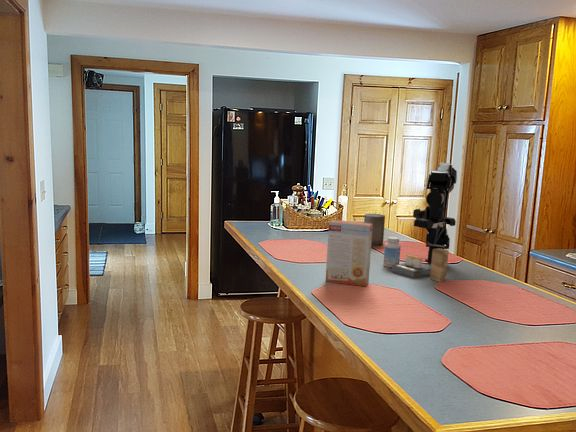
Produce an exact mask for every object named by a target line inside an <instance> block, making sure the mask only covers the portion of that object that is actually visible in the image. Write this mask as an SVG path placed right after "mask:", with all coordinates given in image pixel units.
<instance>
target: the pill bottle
mask: <svg viewBox="0 0 576 432" xmlns="http://www.w3.org/2000/svg"><path fill="white" fill-rule="evenodd" d="M386 241H387V242H386V243H385V244H384V251H383V252H384V253H383V262H382V263H383V265H384V266H385V267H386V268H392V265H397V264H400V259H401V258H400V257H401V244H400V243H399V242H400V238H399V237H396V236H387V240H386Z"/></svg>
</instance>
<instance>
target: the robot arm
mask: <svg viewBox="0 0 576 432" xmlns="http://www.w3.org/2000/svg"><path fill="white" fill-rule="evenodd" d="M457 180H458V172H457V170H456V169H455V168H454V167H453V164H452V163H448V162H446V163H445V162H439V164H438V168H436V169H435V170H431V173H429V174H428V178H427V184H426V190H429V191H430V192H429V193H428V194H427V195H426V197H425V200H426V204H427V205H426V207H425V210H421V209H420V208H416V209H414V210H413V213H412V216H413V218H415V219H414V221H413V227H416V228H417V227H418V228H420V229H421V228H422V229H425V230H426V231H427V232H426V240H425V247H426V248H428V254H427V258H425V259H424V261H426V262H427V263H428V262H429V263H431V261H432V250H433V249H437V248H441V249H445V250H450V242H451V241H450V240H451V239H450V236H449V234H448V229H447V227H446V225H449V226H450V227H453V226H456V222H457V221H456V219H455V218H454V217H448V216H447V209H448V204H449V197H450V194H451V192H452V191H453V190H454V188H455V184H457Z"/></svg>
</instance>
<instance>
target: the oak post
mask: <svg viewBox="0 0 576 432" xmlns="http://www.w3.org/2000/svg"><path fill="white" fill-rule="evenodd" d="M449 250H450V249H441V248H437V249H433V250H432V261H431V262H430V267H431V271H430V275H429V280H432V281H436V282H438V283H439V282H443V281H446V280H447V271H448V262H449V252H450V251H449Z"/></svg>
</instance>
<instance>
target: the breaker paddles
mask: <svg viewBox="0 0 576 432" xmlns="http://www.w3.org/2000/svg"><path fill="white" fill-rule="evenodd" d="M404 259H405V261H404V263H405V264H406V265H409V266H412V265H413V264H414V266H413V267H416V268H422V264H423V261H424V260H423V258H422V257H418V256H415V255H410V254H406V256H405V258H404Z"/></svg>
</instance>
